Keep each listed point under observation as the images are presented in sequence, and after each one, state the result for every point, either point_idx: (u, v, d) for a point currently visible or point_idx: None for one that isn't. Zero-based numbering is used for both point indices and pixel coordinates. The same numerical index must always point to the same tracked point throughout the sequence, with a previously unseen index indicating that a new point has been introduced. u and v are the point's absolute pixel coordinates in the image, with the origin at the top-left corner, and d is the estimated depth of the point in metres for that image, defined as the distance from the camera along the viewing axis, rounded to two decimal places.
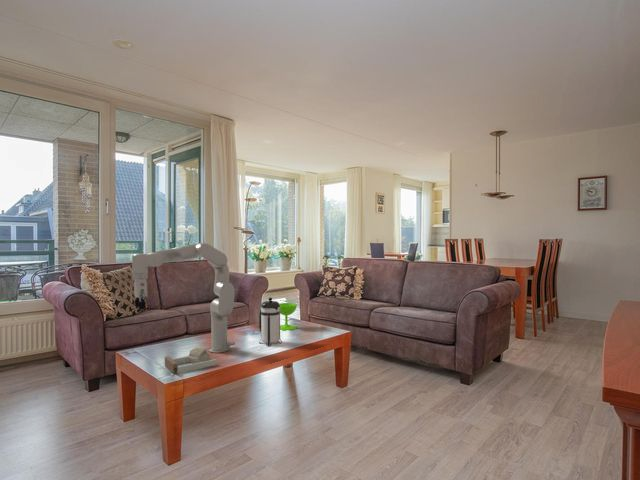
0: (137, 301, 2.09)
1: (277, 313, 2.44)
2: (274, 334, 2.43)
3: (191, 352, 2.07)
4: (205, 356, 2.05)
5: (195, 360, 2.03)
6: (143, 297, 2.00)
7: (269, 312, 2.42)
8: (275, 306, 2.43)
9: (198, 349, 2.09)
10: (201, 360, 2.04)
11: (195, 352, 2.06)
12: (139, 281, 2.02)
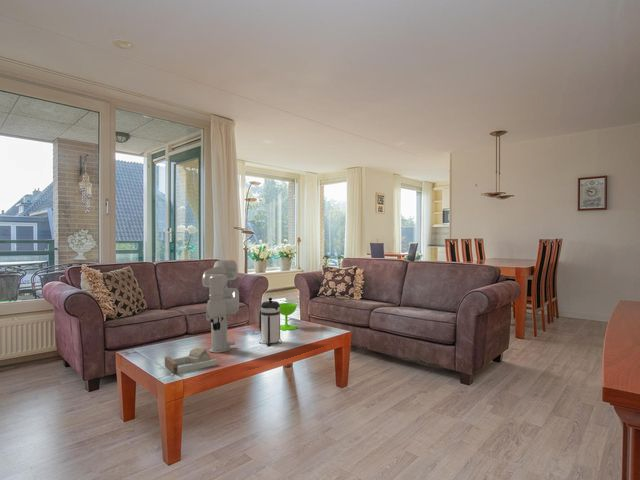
0: None
1: (277, 313, 2.44)
2: (274, 334, 2.43)
3: (191, 352, 2.07)
4: (205, 356, 2.05)
5: (195, 360, 2.03)
6: None
7: (269, 312, 2.42)
8: (275, 306, 2.43)
9: (198, 349, 2.09)
10: (201, 360, 2.04)
11: (195, 352, 2.06)
12: (224, 301, 2.15)
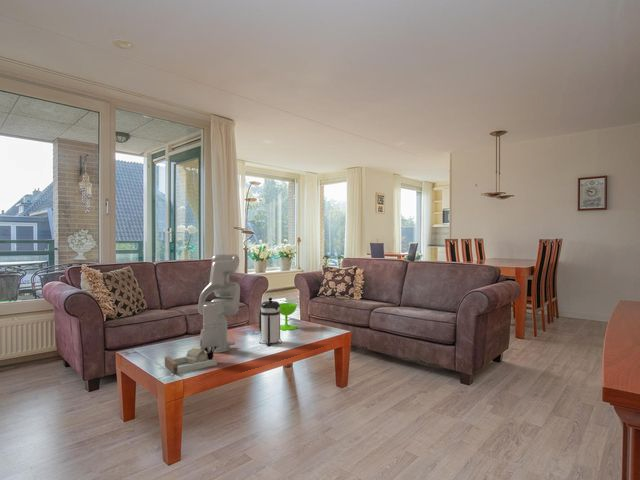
0: None
1: (277, 313, 2.44)
2: (274, 334, 2.43)
3: (189, 352, 2.06)
4: (203, 356, 2.05)
5: (192, 360, 2.02)
6: None
7: (269, 312, 2.42)
8: (275, 306, 2.43)
9: (196, 349, 2.08)
10: (198, 360, 2.03)
11: (193, 352, 2.05)
12: (218, 329, 2.13)
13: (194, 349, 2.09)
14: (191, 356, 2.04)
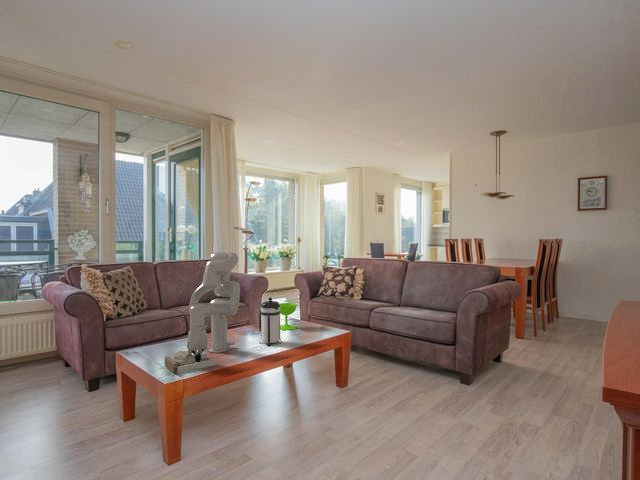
0: None
1: (277, 313, 2.44)
2: (274, 334, 2.43)
3: (176, 355, 2.02)
4: (190, 359, 2.00)
5: (180, 363, 1.97)
6: None
7: (269, 312, 2.42)
8: (275, 306, 2.43)
9: (183, 352, 2.04)
10: (186, 363, 1.99)
11: (180, 355, 2.01)
12: None
13: (181, 351, 2.04)
14: (178, 359, 2.00)
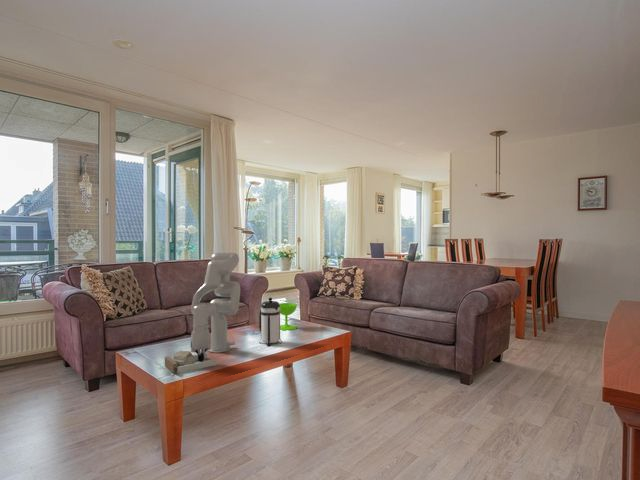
0: None
1: (277, 313, 2.44)
2: (274, 334, 2.43)
3: (176, 355, 2.02)
4: (190, 359, 2.01)
5: (180, 363, 1.98)
6: None
7: (269, 312, 2.42)
8: (275, 306, 2.43)
9: (183, 352, 2.04)
10: (186, 363, 1.99)
11: (180, 355, 2.01)
12: None
13: (181, 351, 2.04)
14: (178, 359, 2.00)
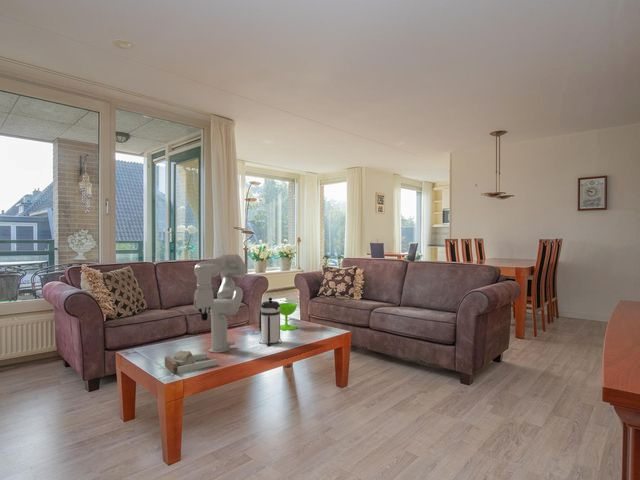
0: None
1: (277, 313, 2.44)
2: (274, 334, 2.43)
3: (176, 355, 2.02)
4: (190, 359, 2.01)
5: (180, 363, 1.98)
6: None
7: (269, 312, 2.42)
8: (275, 306, 2.43)
9: (183, 352, 2.04)
10: (186, 363, 1.99)
11: (180, 355, 2.01)
12: None
13: (181, 352, 2.04)
14: (178, 359, 2.00)
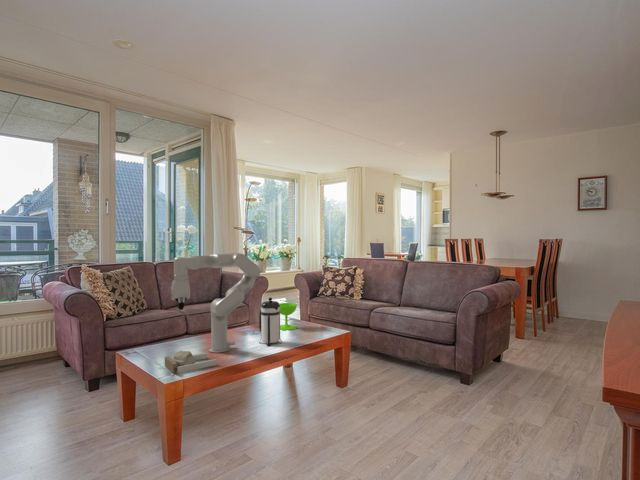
0: None
1: (277, 313, 2.44)
2: (274, 334, 2.43)
3: (176, 355, 2.02)
4: (190, 359, 2.01)
5: (180, 363, 1.98)
6: None
7: (269, 312, 2.42)
8: (275, 306, 2.43)
9: (183, 352, 2.04)
10: (186, 363, 1.99)
11: (180, 355, 2.01)
12: (188, 281, 2.25)
13: (181, 351, 2.04)
14: (178, 359, 2.00)
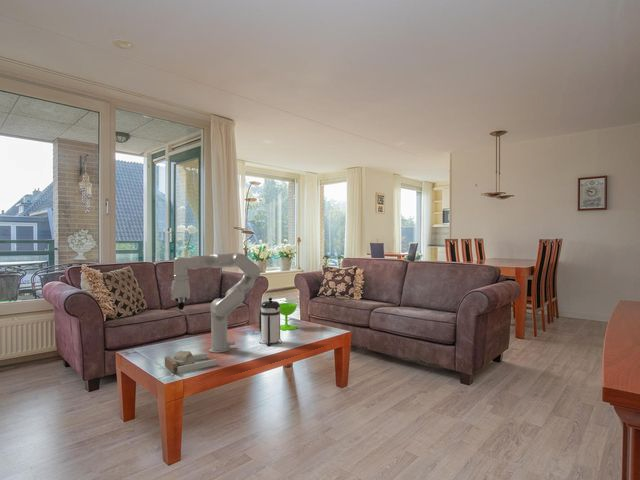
0: None
1: (277, 313, 2.44)
2: (274, 334, 2.43)
3: (176, 355, 2.02)
4: (190, 359, 2.01)
5: (180, 363, 1.98)
6: None
7: (269, 312, 2.42)
8: (275, 306, 2.43)
9: (183, 352, 2.04)
10: (186, 363, 1.99)
11: (180, 355, 2.01)
12: (188, 281, 2.25)
13: (181, 352, 2.04)
14: (178, 359, 2.00)
